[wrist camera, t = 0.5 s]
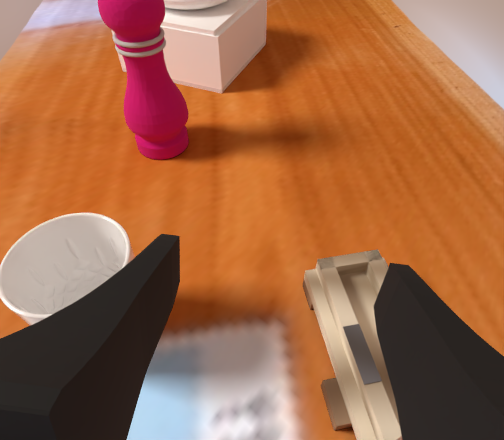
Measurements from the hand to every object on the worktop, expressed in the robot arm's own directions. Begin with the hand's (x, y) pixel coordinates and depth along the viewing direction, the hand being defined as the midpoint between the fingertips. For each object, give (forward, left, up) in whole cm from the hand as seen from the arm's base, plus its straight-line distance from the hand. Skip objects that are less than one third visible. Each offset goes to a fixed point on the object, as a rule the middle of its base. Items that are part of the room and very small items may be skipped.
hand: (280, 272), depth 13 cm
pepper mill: (+33, +6, -18) cm, 38 cm away
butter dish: (+55, 0, -19) cm, 58 cm away
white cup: (+9, +11, -18) cm, 23 cm away
